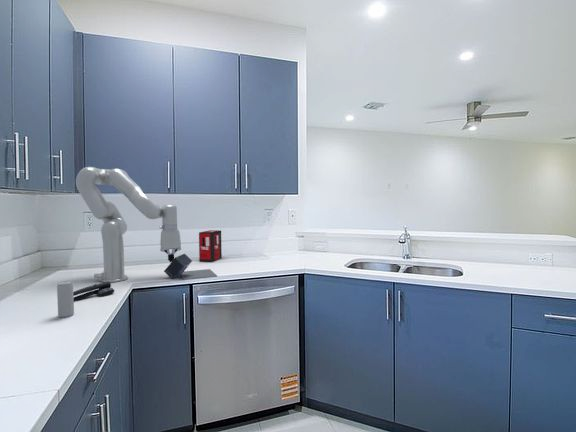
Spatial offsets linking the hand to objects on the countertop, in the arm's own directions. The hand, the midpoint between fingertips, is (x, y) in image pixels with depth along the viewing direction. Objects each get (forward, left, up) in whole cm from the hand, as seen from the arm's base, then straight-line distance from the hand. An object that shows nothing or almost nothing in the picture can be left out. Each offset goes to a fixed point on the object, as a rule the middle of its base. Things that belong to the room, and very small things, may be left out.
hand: (171, 261), depth 183 cm
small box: (+1, 0, -6) cm, 6 cm away
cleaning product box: (+30, +43, -9) cm, 53 cm away
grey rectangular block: (-41, -49, -9) cm, 64 cm away
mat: (+14, 0, -8) cm, 16 cm away
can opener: (-35, -25, -9) cm, 44 cm away
